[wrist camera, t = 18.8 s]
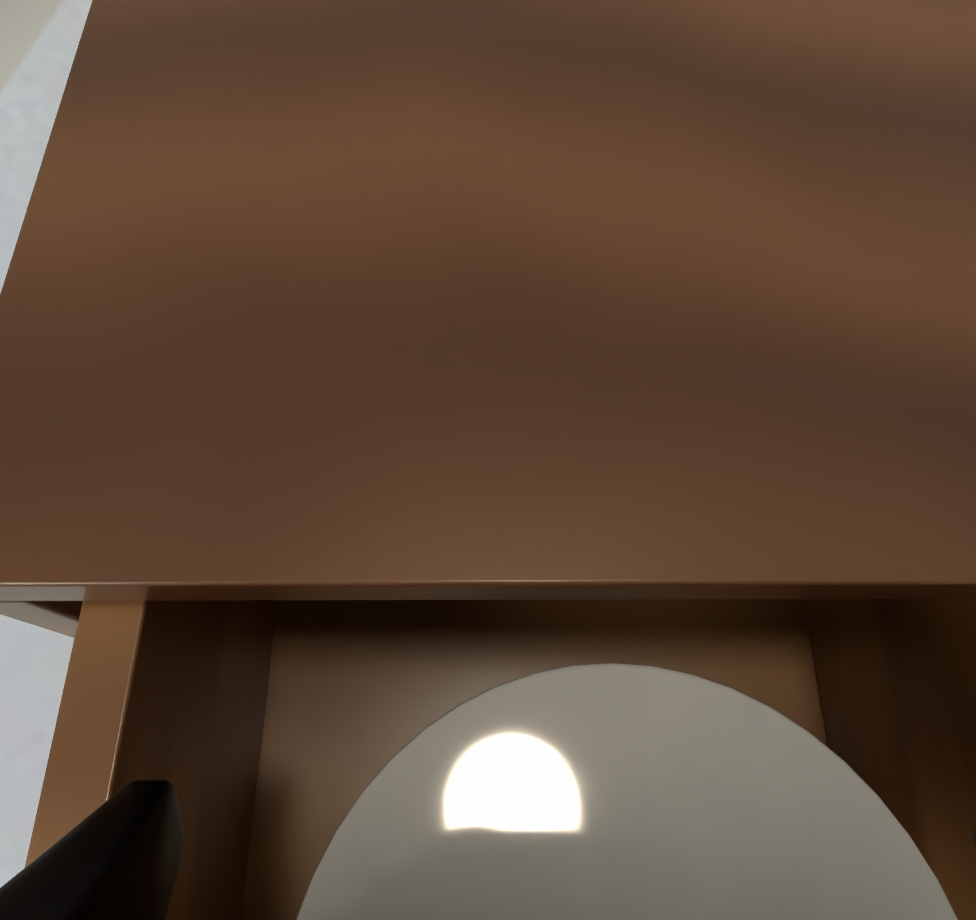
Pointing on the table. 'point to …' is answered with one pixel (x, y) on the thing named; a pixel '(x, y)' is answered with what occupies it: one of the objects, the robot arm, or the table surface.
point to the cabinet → (497, 305)
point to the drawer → (455, 679)
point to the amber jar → (619, 814)
